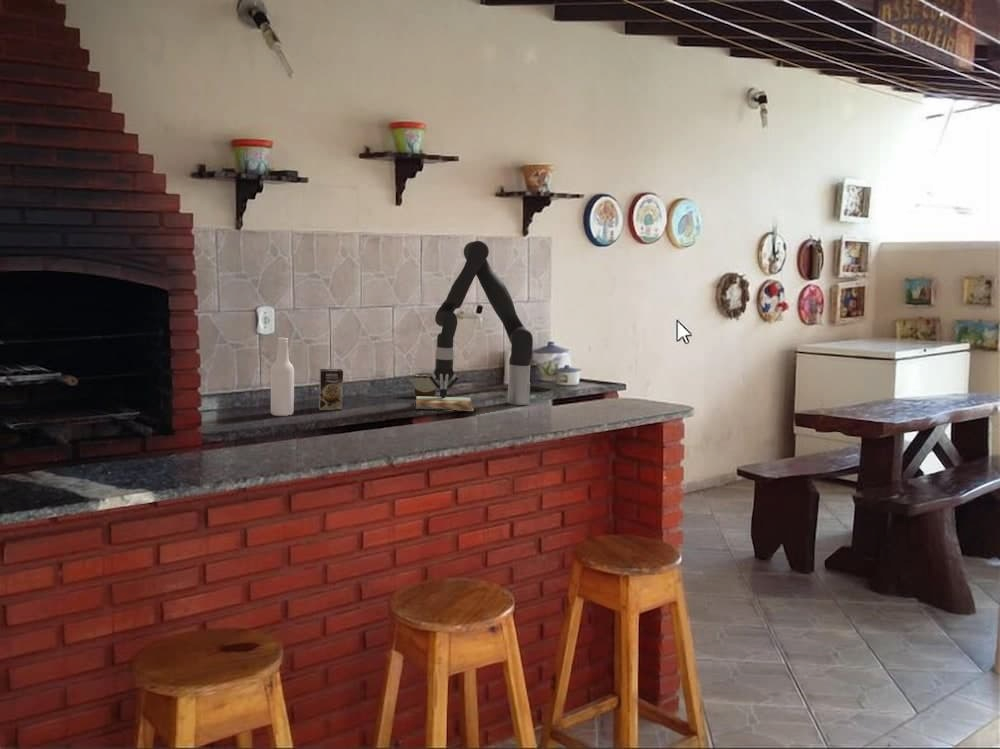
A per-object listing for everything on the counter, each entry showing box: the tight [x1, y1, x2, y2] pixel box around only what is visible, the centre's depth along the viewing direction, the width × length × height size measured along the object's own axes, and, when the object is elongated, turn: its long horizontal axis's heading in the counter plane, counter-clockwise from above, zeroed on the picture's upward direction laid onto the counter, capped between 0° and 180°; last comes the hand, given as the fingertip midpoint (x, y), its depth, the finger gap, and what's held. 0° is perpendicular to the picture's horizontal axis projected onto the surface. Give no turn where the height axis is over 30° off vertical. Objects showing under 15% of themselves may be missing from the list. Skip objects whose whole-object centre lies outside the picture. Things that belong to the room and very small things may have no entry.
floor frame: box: [417, 400, 475, 412], centre depth 398 cm, size 24×16×3 cm, turn 96°
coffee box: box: [318, 368, 344, 411], centre depth 382 cm, size 9×6×16 cm
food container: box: [411, 372, 439, 397], centre depth 421 cm, size 12×6×10 cm, turn 84°
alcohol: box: [270, 336, 295, 417], centre depth 366 cm, size 9×9×30 cm
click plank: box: [415, 396, 472, 404], centre depth 401 cm, size 23×8×2 cm, turn 96°
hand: (443, 397), depth 403 cm, fingers closed
